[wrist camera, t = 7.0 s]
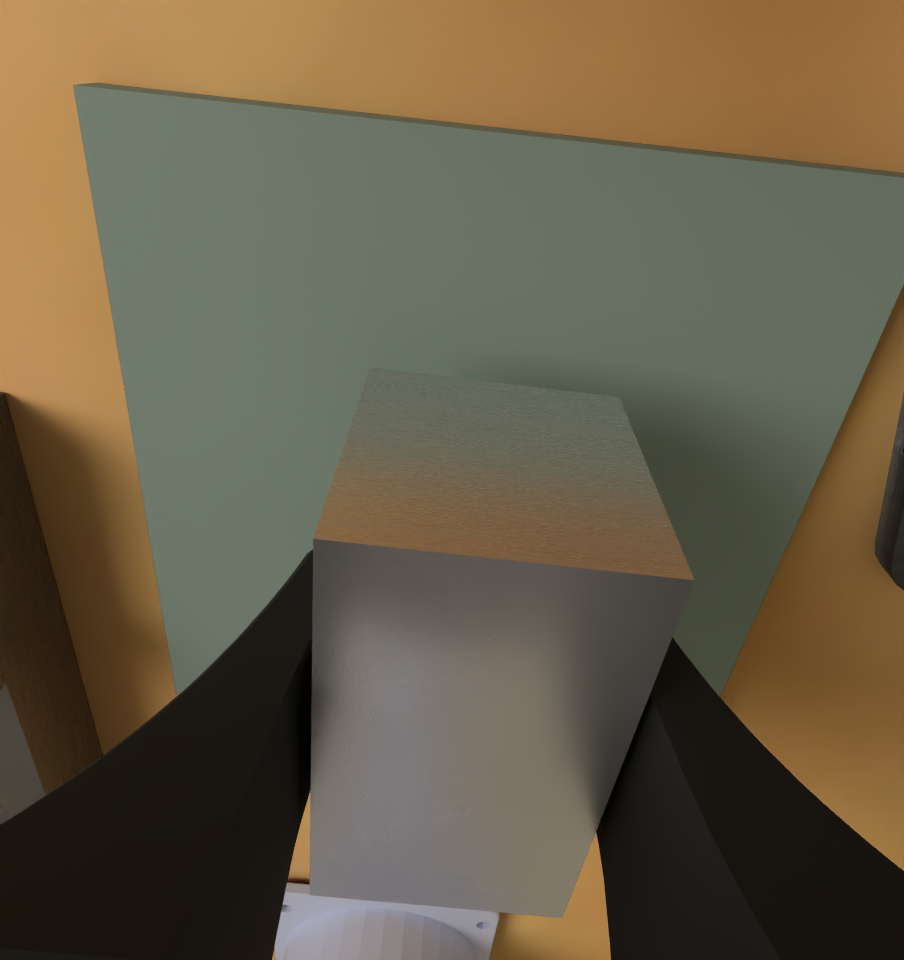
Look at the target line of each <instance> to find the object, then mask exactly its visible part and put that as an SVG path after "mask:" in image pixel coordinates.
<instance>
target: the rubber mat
mask: <svg viewBox="0 0 904 960" xmlns="http://www.w3.org/2000/svg"><path fill="white" fill-rule="evenodd" d="M73 87H74V93H75V99H76V105H77V111H78V117H79V123H80V129H81V135H82V141H83V147H84V153H85V159H86V164H87V170H88V176H89V182H90V188H91V194H92V200H93V206H94V212H95V218H96V224H97V230H98V236H99V241H100V247H101V253H102V259H103V265H104V271H105V277H106V283H107V289H108V295H109V301H110V307H111V313H112V318H113V324H114V330H115V336H116V342H117V348H118V354H119V360H120V366H121V372H122V378H123V384H124V390H125V395H126V401H127V407H128V413H129V419H130V425H131V431H132V437H133V443H134V449H135V455H136V461H137V467H138V472H139V478H140V484H141V490H142V496H143V502H144V508H145V514H146V520H147V526H148V532H149V538H150V544H151V549H152V555H153V561H154V567H155V573H156V579H157V585H158V591H159V597H160V603H161V609H162V615H163V621H164V626H165V632H166V638H167V644H168V650H169V656H170V662H171V668H172V674H173V680H174V686H175V692H176V693H177V694H180V693H181V692H182V691H184V690H185V689H186V688H187V687H188V686H189V685H190V684H191V683H192V682H193V681H194V680H196V679H197V678H198V677H199V676H200V675H201V674H202V673H203V672H204V671H205V670H206V669H207V668H208V667H209V666H210V665H211V664H212V663H213V662H214V661H215V660H216V659H217V658H218V657H219V656H220V655H221V654H222V653H223V652H224V651H225V650H226V649H227V648H228V647H229V646H230V645H231V644H232V643H233V642H234V641H235V640H236V639H237V638H238V637H239V636H240V635H241V634H242V632H243V631H244V630H245V629H246V628H247V627H248V626H249V625H250V623H251V622H252V621H253V620H254V619H255V618H256V617H257V616H258V614H259V613H260V612H261V611H262V610H263V609H264V608H265V607H266V605H267V604H268V603H269V602H270V601H271V600H272V598H273V597H274V596H275V595H276V593H277V592H278V591H279V590H280V589H281V587H282V586H283V585H284V584H285V582H286V581H287V580H288V578H289V577H290V576H291V575H292V573H293V572H294V571H295V569H296V568H297V567H298V565H299V564H300V563H301V561H302V560H303V558H304V557H305V555H306V554H307V553H308V552H309V551H311V550H312V549H313V538H314V535H315V532H316V529H317V526H318V523H319V520H320V517H321V514H322V511H323V508H324V505H325V502H326V499H327V496H328V493H329V490H330V487H331V484H332V480H333V477H334V474H335V471H336V468H337V465H338V462H339V459H340V456H341V453H342V450H343V447H344V444H345V441H346V438H347V435H348V432H349V429H350V426H351V423H352V420H353V417H354V414H355V411H356V408H357V405H358V402H359V399H360V396H361V393H362V390H363V387H364V384H365V380H366V377H367V374H368V371H369V368H379V369H387V370H396V371H404V372H413V373H421V374H430V375H438V376H446V377H455V378H463V379H472V380H480V381H489V382H497V383H506V384H514V385H523V386H531V387H539V388H548V389H556V390H565V391H573V392H582V393H590V394H599V395H607V396H616V397H619V398H620V400H621V403H622V405H623V408H624V410H625V413H626V415H627V417H628V420H629V422H630V425H631V427H632V430H633V432H634V434H635V437H636V439H637V442H638V444H639V447H640V449H641V451H642V454H643V456H644V459H645V461H646V464H647V466H648V468H649V471H650V473H651V476H652V478H653V481H654V483H655V485H656V488H657V490H658V493H659V495H660V498H661V500H662V502H663V505H664V507H665V510H666V512H667V515H668V517H669V519H670V522H671V524H672V527H673V529H674V532H675V534H676V536H677V539H678V541H679V544H680V546H681V549H682V551H683V553H684V556H685V558H686V561H687V563H688V566H689V568H690V570H691V573H692V575H693V578H694V583H693V586H692V588H691V591H690V593H689V596H688V598H687V601H686V603H685V606H684V609H683V611H682V614H681V616H680V619H679V621H678V624H677V626H676V629H675V631H674V634H673V638H674V640H675V641H676V642H677V644H678V645H679V646H680V648H681V649H682V650H683V652H684V653H685V654H686V656H687V657H688V658H689V659H690V661H691V662H692V663H693V664H694V666H695V667H696V668H697V670H698V671H699V672H700V673H701V675H702V676H703V677H704V678H705V680H706V681H707V682H708V684H709V685H710V686H711V687H712V688H713V690H714V691H715V692H716V693H717V694H718V696H719V697H720V696H721V694H722V692H723V689H724V687H725V685H726V683H727V680H728V678H729V676H730V674H731V671H732V669H733V667H734V665H735V662H736V660H737V658H738V656H739V653H740V651H741V649H742V647H743V644H744V642H745V640H746V638H747V635H748V633H749V631H750V629H751V626H752V624H753V622H754V620H755V617H756V615H757V613H758V611H759V608H760V606H761V604H762V602H763V599H764V597H765V595H766V593H767V590H768V588H769V586H770V584H771V581H772V579H773V577H774V575H775V573H776V570H777V568H778V566H779V564H780V561H781V559H782V557H783V555H784V552H785V550H786V548H787V546H788V543H789V541H790V539H791V537H792V534H793V532H794V530H795V528H796V525H797V523H798V521H799V519H800V516H801V514H802V512H803V510H804V507H805V505H806V503H807V501H808V498H809V496H810V494H811V492H812V489H813V487H814V485H815V483H816V480H817V478H818V476H819V474H820V471H821V469H822V467H823V465H824V462H825V460H826V458H827V456H828V453H829V451H830V449H831V447H832V444H833V442H834V440H835V438H836V436H837V433H838V431H839V429H840V427H841V424H842V422H843V420H844V418H845V415H846V413H847V411H848V409H849V406H850V404H851V402H852V400H853V397H854V395H855V393H856V391H857V388H858V386H859V384H860V382H861V379H862V377H863V375H864V373H865V370H866V368H867V366H868V364H869V361H870V359H871V357H872V355H873V352H874V350H875V348H876V346H877V343H878V341H879V339H880V337H881V334H882V332H883V330H884V328H885V325H886V323H887V321H888V319H889V316H890V314H891V312H892V310H893V307H894V305H895V303H896V301H897V299H898V296H899V294H900V292H901V290H902V287H903V285H904V173H898V172H889V171H880V170H871V169H863V168H854V167H845V166H836V165H827V164H818V163H809V162H800V161H791V160H782V159H773V158H764V157H755V156H746V155H737V154H729V153H720V152H711V151H702V150H693V149H684V148H675V147H666V146H657V145H648V144H639V143H630V142H621V141H612V140H603V139H594V138H586V137H577V136H568V135H559V134H550V133H541V132H532V131H523V130H514V129H505V128H496V127H487V126H478V125H469V124H460V123H451V122H443V121H434V120H425V119H416V118H407V117H398V116H389V115H380V114H371V113H362V112H353V111H344V110H335V109H326V108H317V107H308V106H300V105H291V104H282V103H273V102H264V101H255V100H246V99H237V98H228V97H219V96H210V95H201V94H192V93H183V92H174V91H165V90H157V89H148V88H139V87H130V86H121V85H112V84H103V83H90V84H79V85H73Z"/></svg>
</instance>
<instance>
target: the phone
mask: <svg viewBox="0 0 904 960" xmlns="http://www.w3.org/2000/svg"><path fill="white" fill-rule="evenodd" d="M903 447H904V394H903V400H902V405H901V410H900V415H899V420H898V426H897V431H896V436H895V441H894V447H893V452H892V457H891V462H890V467H889V473H888V478H887V483H886V488H885V493H884V499H883V504H882V509H881V514H880V519H879V525H878V530H877V535H876V540H875V555H876V557H877V558H878V560H879V562H880V564H881V565H882V567H883V568H884V569H885V571H886V572H887V573H888V574H889V576H890V577H891V578H892V579H893V581H894V582H895V583H896V584H897V586H899V587H900V588H901V589H903V590H904V453H903Z"/></svg>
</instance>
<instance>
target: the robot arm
mask: <svg viewBox="0 0 904 960" xmlns="http://www.w3.org/2000/svg"><path fill="white" fill-rule="evenodd" d="M312 611H313V549H312V550H311V551H309V552H308V553H307V554H306V555H305V557H304V558H303V560H302V561H301V563H300V564H299V565H298V567H297V568H296V569H295V571H294V572H293V573H292V575H291V576H290V577H289V578H288V580H287V581H286V582H285V584H284V585H283V586H282V587H281V589H280V590H279V591H278V592H277V593H276V595H275V596H274V597H273V598H272V600H271V601H270V602H269V603H268V604H267V605H266V607H265V608H264V609H263V610H262V611H261V612H260V613H259V614H258V616H257V617H256V618H255V619H254V620H253V621H252V622H251V623H250V625H249V626H248V627H247V628H246V629H245V630H244V631H243V632H242V634H241V635H240V636H239V637H238V638H237V639H236V640H235V641H234V642H233V643H232V644H231V645H230V646H229V647H228V648H227V649H226V650H225V651H224V652H223V653H222V654H221V655H220V656H219V657H218V658H217V659H216V660H215V661H214V662H213V663H212V664H211V665H210V666H209V667H208V668H207V669H206V670H205V671H204V672H203V673H202V674H201V675H200V676H199V677H198V678H197V679H196V680H194V681H193V682H192V683H191V684H190V685H189V686H188V687H187V688H186V689H185V690H184V691H182V692H181V693H180V694H179V695H178V696H177V697H176V698H175V699H173V700H172V701H171V702H170V703H169V704H168V705H166V706H165V707H164V708H163V709H162V710H161V711H159V712H158V713H157V714H156V715H155V716H153V717H152V718H151V719H150V720H149V721H147V722H146V723H145V724H143V725H142V726H141V727H140V728H138V729H137V730H136V731H135V732H133V733H132V734H131V735H129V736H128V737H127V738H126V739H124V740H123V741H122V742H121V743H119V744H118V745H117V746H115V747H114V748H113V749H112V750H110V751H109V752H107V753H106V754H105V755H103V756H102V757H101V758H99V759H98V760H97V761H95V762H94V763H92V764H91V765H90V766H88V767H87V768H86V769H84V770H83V771H81V772H80V773H78V774H77V775H75V776H74V777H72V778H71V779H69V780H68V781H66V782H65V783H63V784H62V785H60V786H59V787H57V788H56V789H54V790H53V791H51V792H50V793H48V794H47V795H45V796H44V797H42V798H41V799H39V800H38V801H36V802H35V803H33V804H32V805H30V806H29V807H27V808H26V809H24V810H23V811H21V812H20V813H18V814H17V815H15V816H13V817H12V818H10V819H9V820H7V821H5V822H4V823H2V824H1V825H0V960H272V956H273V951H274V946H275V955H276V960H489V957H490V953H491V949H492V945H493V941H494V938H495V934H496V930H497V926H498V922H499V918H500V914H499V912H490V911H479V910H468V909H456V908H445V907H434V906H423V905H412V904H401V903H390V902H379V901H368V900H357V899H345V898H334V897H323V896H312V895H310V884H300V883H288V882H287V880H288V875H289V870H290V865H291V861H292V856H293V851H294V847H295V843H296V839H297V835H298V831H299V827H300V823H301V820H302V816H303V813H304V810H305V806H306V803H307V799H308V796H309V793H310V789H311V707H312ZM596 833H597V838H598V843H599V849H600V855H601V862H602V869H603V876H604V885H605V895H606V906H607V917H608V927H609V938H610V950H611V960H904V871H903V870H902V869H900V868H899V867H898V866H897V865H895V864H894V863H893V862H892V861H890V860H889V859H888V858H887V857H886V856H884V855H883V854H882V853H881V852H879V851H878V850H877V849H876V848H874V847H873V846H872V845H871V844H870V843H868V842H867V841H866V840H865V839H864V838H862V837H861V836H860V835H859V834H858V833H857V832H855V831H854V830H853V829H852V828H851V827H850V826H849V825H847V824H846V823H845V822H844V821H843V820H842V819H841V818H839V817H838V816H837V815H836V814H835V813H834V812H833V811H831V810H830V809H829V808H828V807H827V806H826V805H825V804H823V803H822V802H821V801H820V800H819V799H818V798H817V797H816V796H815V795H814V794H813V793H811V792H810V791H809V790H808V789H807V788H806V787H805V786H804V785H803V784H802V783H801V782H800V781H799V780H798V779H797V778H796V777H795V776H794V775H793V774H792V773H791V772H789V771H788V770H787V769H786V768H785V767H784V766H783V765H782V764H781V763H780V762H779V761H778V760H777V759H776V758H775V757H774V756H773V755H772V754H771V753H770V752H769V751H768V750H767V749H766V748H765V747H764V746H763V745H762V744H761V742H760V741H759V740H758V739H757V738H756V737H755V736H754V735H753V734H752V733H751V732H750V731H749V730H748V729H747V728H746V726H745V725H744V724H743V723H742V722H741V721H740V720H739V719H738V717H737V716H736V715H735V714H734V713H733V712H732V711H731V709H730V708H729V707H728V706H727V705H726V704H725V703H724V701H723V700H722V699H721V698H720V697H719V696H718V694H717V693H716V692H715V691H714V690H713V688H712V687H711V686H710V685H709V684H708V682H707V681H706V680H705V678H704V677H703V676H702V675H701V673H700V672H699V671H698V670H697V668H696V667H695V666H694V664H693V663H692V662H691V661H690V659H689V658H688V657H687V656H686V654H685V653H684V652H683V650H682V649H681V648H680V646H679V645H678V644H677V642H676V641H675V640H674V638H673V637H672V639H671V642H670V644H669V647H668V649H667V652H666V654H665V657H664V660H663V662H662V665H661V667H660V670H659V672H658V675H657V677H656V680H655V682H654V685H653V688H652V690H651V693H650V695H649V698H648V700H647V703H646V705H645V708H644V711H643V713H642V716H641V718H640V721H639V723H638V726H637V728H636V731H635V734H634V736H633V739H632V741H631V744H630V746H629V749H628V751H627V754H626V756H625V759H624V762H623V764H622V767H621V769H620V772H619V774H618V777H617V779H616V782H615V785H614V787H613V790H612V792H611V795H610V797H609V800H608V802H607V805H606V807H605V810H604V813H603V815H602V818H601V820H600V823H599V825H598V828H597V830H596Z"/></svg>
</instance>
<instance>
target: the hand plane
mask: <svg viewBox="0 0 904 960" xmlns="http://www.w3.org/2000/svg"><path fill="white" fill-rule="evenodd" d="M101 757H102V753H101V750H100V746H99V742H98V739H97V735H96V731H95V728H94V724H93V720H92V717H91V713H90V709H89V705H88V702H87V698H86V694H85V691H84V687H83V683H82V680H81V676H80V672H79V669H78V665H77V661H76V657H75V654H74V650H73V646H72V643H71V639H70V635H69V632H68V628H67V624H66V621H65V617H64V613H63V609H62V606H61V602H60V598H59V595H58V591H57V587H56V584H55V580H54V576H53V573H52V569H51V565H50V561H49V558H48V554H47V550H46V547H45V543H44V539H43V536H42V532H41V528H40V524H39V521H38V517H37V513H36V510H35V506H34V502H33V499H32V495H31V491H30V488H29V484H28V480H27V476H26V473H25V469H24V465H23V462H22V458H21V454H20V451H19V447H18V443H17V440H16V436H15V432H14V428H13V425H12V421H11V417H10V414H9V410H8V406H7V403H6V399H5V395H4V393H2V392H0V825H1V824H2V823H4V822H5V821H7V820H9V819H10V818H12V817H13V816H15V815H17V814H18V813H20V812H21V811H23V810H24V809H26V808H27V807H29V806H30V805H32V804H33V803H35V802H36V801H38V800H39V799H41V798H42V797H44V796H45V795H47V794H48V793H50V792H51V791H53V790H54V789H56V788H57V787H59V786H60V785H62V784H63V783H65V782H66V781H68V780H69V779H71V778H72V777H74V776H75V775H77V774H78V773H80V772H81V771H83V770H84V769H86V768H87V767H88V766H90V765H91V764H92V763H94V762H95V761H97V760H98V759H99V758H101Z"/></svg>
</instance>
